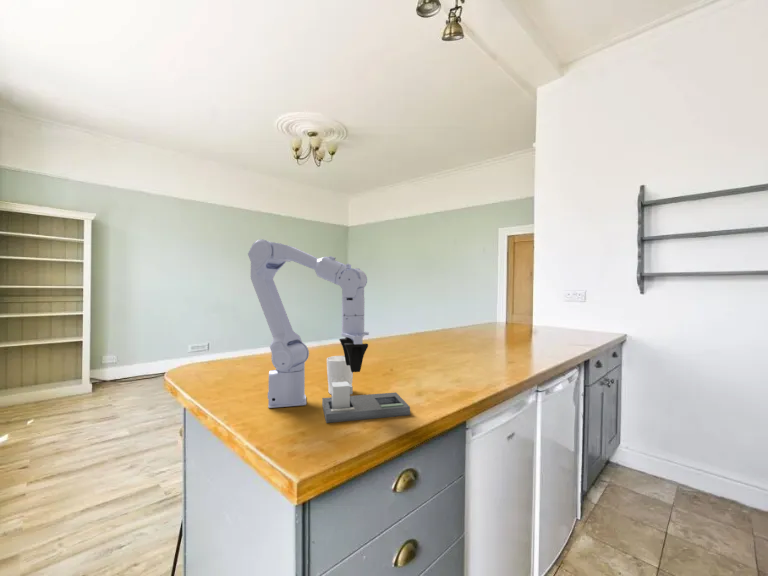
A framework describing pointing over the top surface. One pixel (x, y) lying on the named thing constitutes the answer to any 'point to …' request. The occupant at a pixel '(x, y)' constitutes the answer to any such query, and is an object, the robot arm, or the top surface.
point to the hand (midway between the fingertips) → (352, 368)
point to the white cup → (338, 371)
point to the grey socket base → (366, 407)
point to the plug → (341, 394)
